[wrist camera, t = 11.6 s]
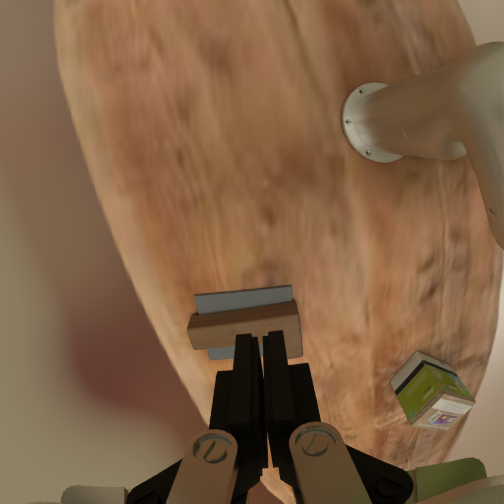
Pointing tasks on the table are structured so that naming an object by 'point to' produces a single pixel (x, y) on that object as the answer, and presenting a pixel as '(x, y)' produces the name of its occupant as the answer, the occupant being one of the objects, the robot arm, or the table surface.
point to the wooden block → (247, 327)
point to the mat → (236, 302)
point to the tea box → (431, 393)
